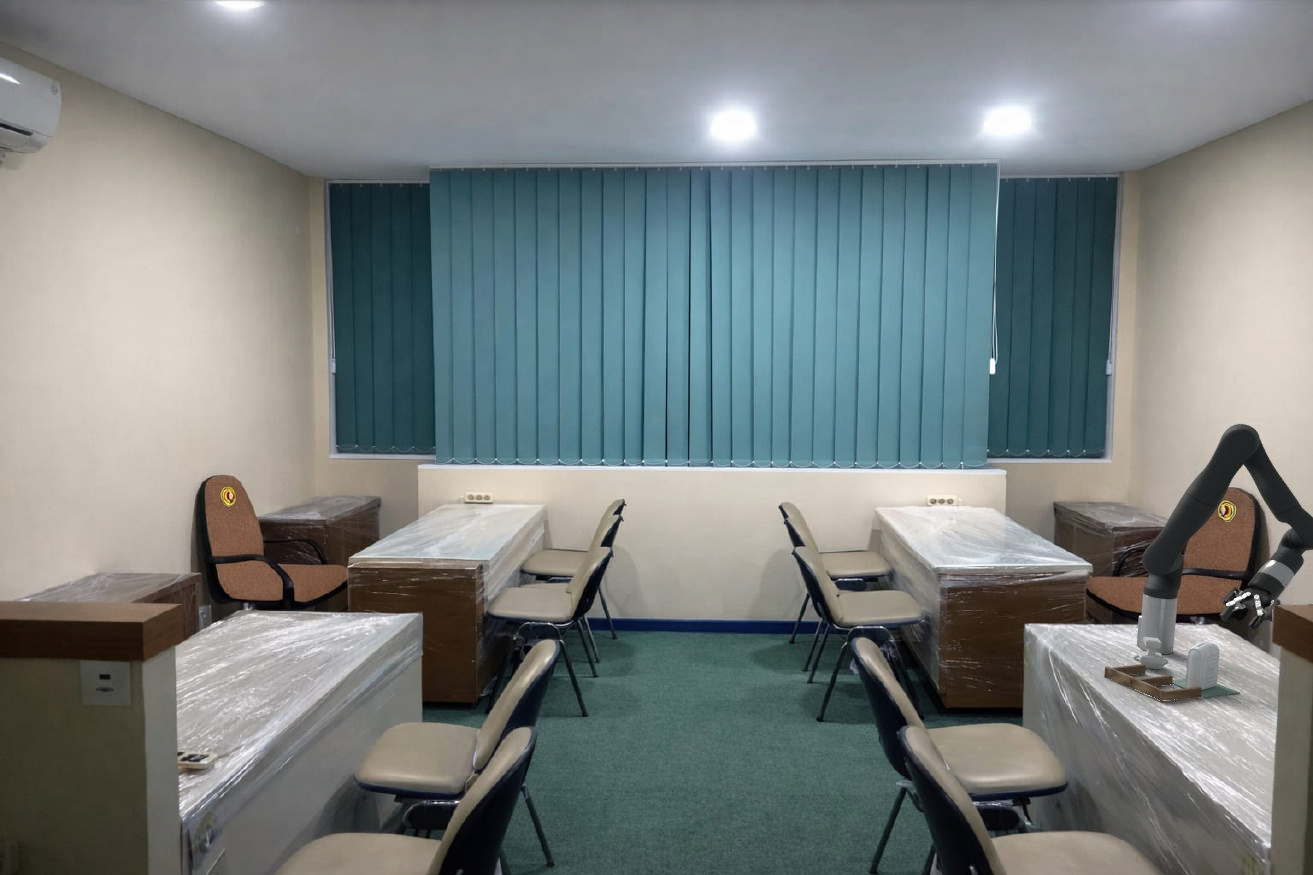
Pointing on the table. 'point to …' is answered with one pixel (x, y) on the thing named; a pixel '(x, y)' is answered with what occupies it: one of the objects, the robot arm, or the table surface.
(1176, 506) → the robot arm
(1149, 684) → the lane rack
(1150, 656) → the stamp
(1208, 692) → the mat
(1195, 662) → the photo printer
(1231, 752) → the table surface
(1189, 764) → the table surface
